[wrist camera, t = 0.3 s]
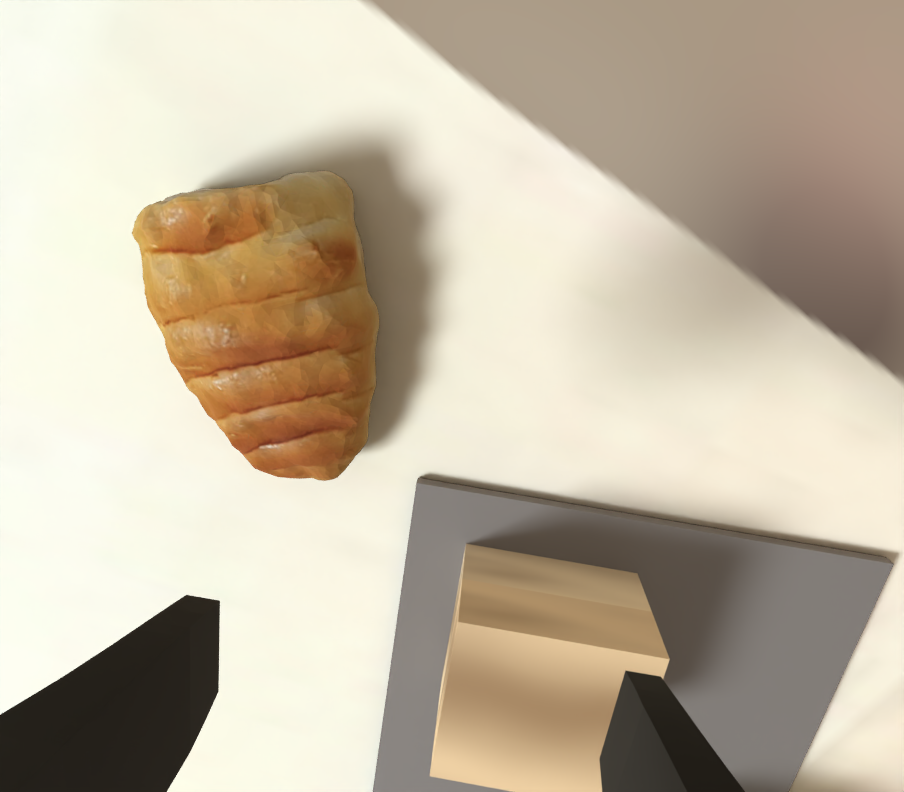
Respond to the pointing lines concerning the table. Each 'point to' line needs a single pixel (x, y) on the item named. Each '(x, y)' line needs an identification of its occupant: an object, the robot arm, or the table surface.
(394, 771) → the mat
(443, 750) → the tower top slab
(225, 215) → the pastry
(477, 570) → the tower base slab
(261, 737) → the table surface
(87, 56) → the table surface
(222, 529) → the table surface
